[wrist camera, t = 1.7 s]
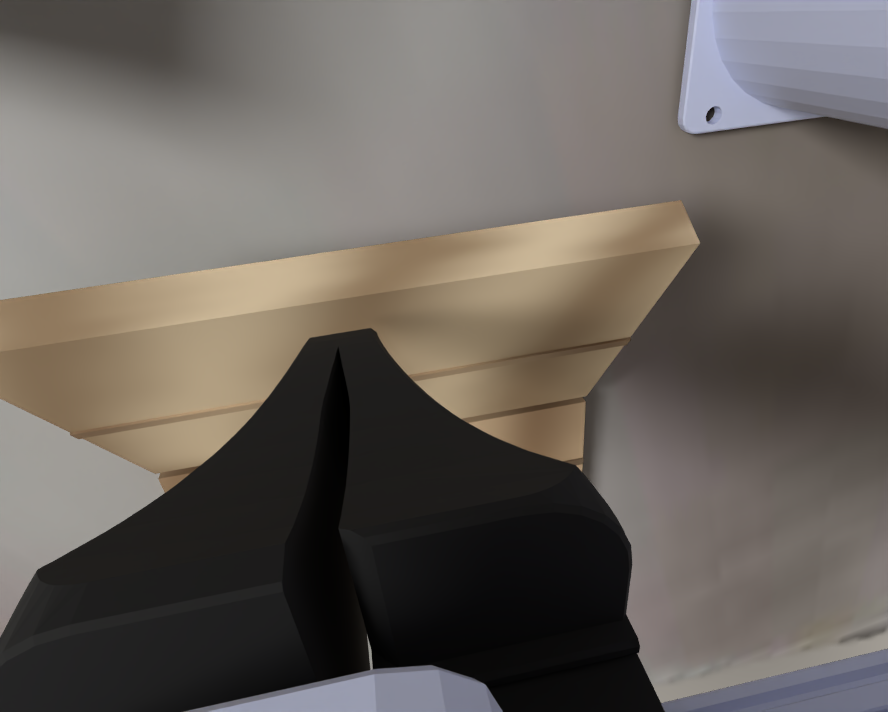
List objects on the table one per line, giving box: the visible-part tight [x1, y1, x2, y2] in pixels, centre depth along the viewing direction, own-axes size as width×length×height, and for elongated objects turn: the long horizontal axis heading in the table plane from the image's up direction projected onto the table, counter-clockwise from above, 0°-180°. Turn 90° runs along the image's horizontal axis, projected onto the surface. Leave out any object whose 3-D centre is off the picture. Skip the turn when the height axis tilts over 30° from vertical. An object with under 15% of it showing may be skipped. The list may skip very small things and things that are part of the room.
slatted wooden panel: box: [0, 200, 700, 474], centre depth 17 cm, size 16×10×1 cm
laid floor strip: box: [159, 397, 586, 493], centre depth 23 cm, size 16×6×1 cm, turn 95°
